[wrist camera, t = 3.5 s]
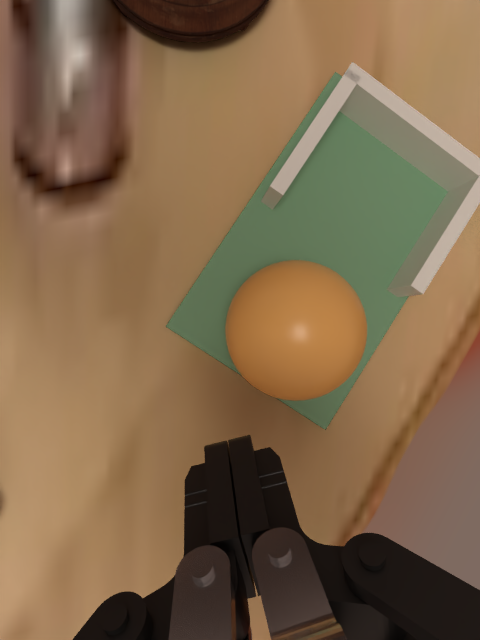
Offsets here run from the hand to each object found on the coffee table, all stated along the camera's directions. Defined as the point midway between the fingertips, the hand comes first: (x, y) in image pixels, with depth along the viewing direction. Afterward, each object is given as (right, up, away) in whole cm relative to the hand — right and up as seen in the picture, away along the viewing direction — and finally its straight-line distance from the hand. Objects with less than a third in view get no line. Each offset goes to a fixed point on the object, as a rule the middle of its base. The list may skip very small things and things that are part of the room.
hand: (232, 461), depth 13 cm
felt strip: (+8, +10, +23) cm, 26 cm away
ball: (+4, +4, +17) cm, 18 cm away
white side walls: (+11, +15, +23) cm, 30 cm away
